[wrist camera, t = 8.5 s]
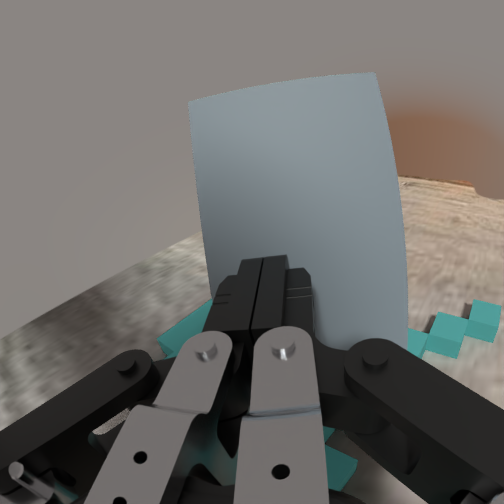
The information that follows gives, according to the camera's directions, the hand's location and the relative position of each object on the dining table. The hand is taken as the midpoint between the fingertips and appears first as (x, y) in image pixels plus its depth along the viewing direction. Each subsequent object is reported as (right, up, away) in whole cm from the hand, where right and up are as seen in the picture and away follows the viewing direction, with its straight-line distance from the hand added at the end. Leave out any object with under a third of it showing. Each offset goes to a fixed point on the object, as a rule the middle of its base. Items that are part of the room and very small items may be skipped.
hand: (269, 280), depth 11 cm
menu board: (+3, -6, +3) cm, 7 cm away
